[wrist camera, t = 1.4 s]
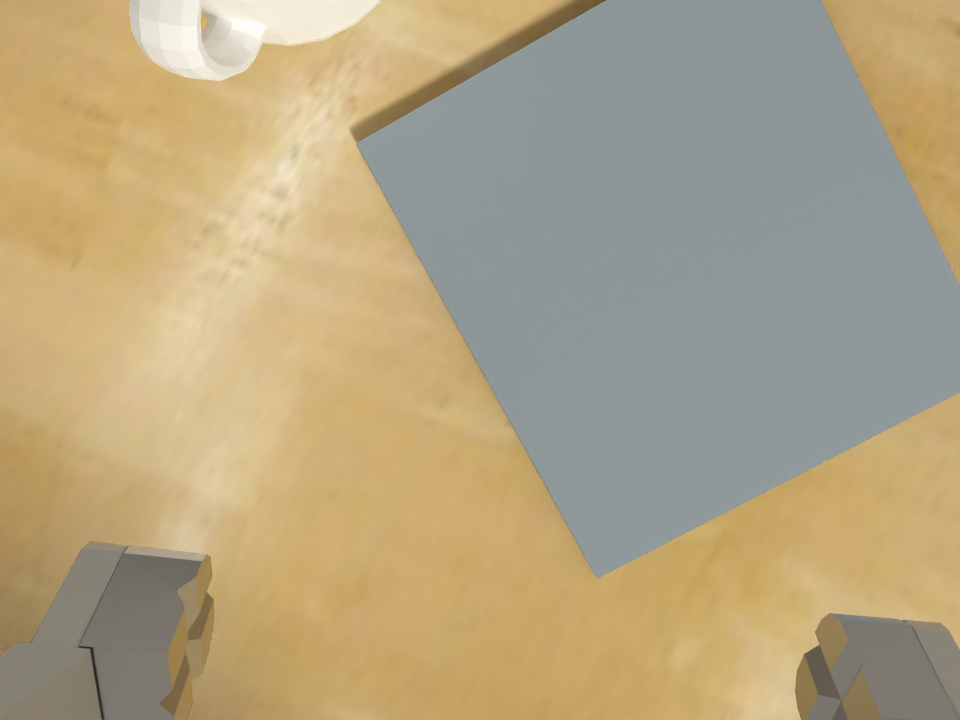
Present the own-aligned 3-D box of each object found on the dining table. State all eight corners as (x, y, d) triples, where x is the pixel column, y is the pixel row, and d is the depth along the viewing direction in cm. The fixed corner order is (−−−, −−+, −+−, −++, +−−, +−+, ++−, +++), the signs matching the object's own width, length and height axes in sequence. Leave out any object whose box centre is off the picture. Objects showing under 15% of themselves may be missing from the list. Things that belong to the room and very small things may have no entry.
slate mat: (992, 368, 36) (1000, 371, 35) (595, 573, 37) (596, 578, 37) (769, -90, 34) (774, -97, 33) (358, 145, 35) (355, 143, 35)
